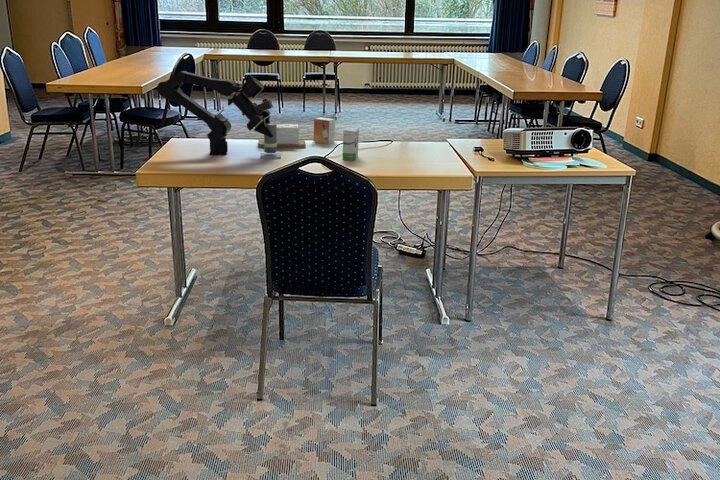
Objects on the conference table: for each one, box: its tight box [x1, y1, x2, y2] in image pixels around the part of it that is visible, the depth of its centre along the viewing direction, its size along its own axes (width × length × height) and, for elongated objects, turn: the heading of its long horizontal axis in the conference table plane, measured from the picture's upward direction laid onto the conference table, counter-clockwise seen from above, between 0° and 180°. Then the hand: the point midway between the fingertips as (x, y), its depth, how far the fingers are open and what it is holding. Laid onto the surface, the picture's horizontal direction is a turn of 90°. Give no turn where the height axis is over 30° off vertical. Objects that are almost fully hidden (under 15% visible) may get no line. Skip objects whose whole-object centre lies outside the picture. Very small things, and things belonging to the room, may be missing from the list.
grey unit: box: [257, 123, 307, 149], centre depth 298 cm, size 20×10×8 cm, turn 98°
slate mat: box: [260, 152, 282, 159], centre depth 278 cm, size 8×7×1 cm
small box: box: [313, 116, 336, 145], centre depth 307 cm, size 8×6×10 cm
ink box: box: [342, 126, 360, 161], centre depth 278 cm, size 9×5×12 cm, turn 168°
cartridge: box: [263, 122, 278, 153], centre depth 275 cm, size 5×5×11 cm
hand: (273, 135), depth 275 cm, fingers closed on cartridge, 5 cm apart
